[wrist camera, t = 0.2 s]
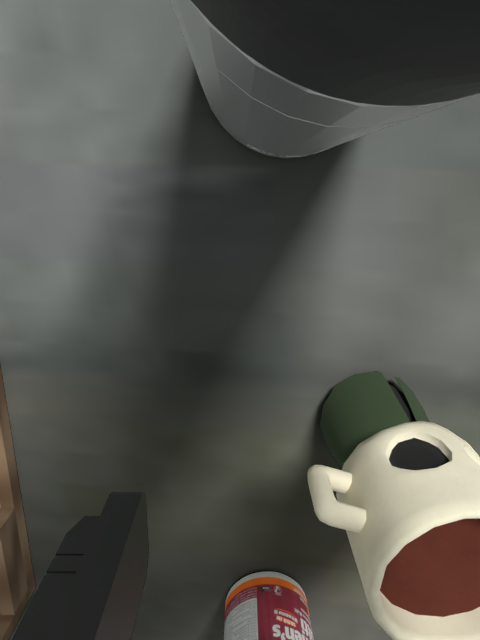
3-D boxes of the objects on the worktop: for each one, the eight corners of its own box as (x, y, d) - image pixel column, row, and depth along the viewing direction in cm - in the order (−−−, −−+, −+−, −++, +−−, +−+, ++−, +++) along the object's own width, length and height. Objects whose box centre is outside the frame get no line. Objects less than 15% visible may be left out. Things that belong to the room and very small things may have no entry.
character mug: (466, 388, 28) (646, 550, 16) (419, 477, 30) (545, 684, 18) (306, 338, 27) (365, 472, 15) (268, 435, 29) (291, 623, 17)
